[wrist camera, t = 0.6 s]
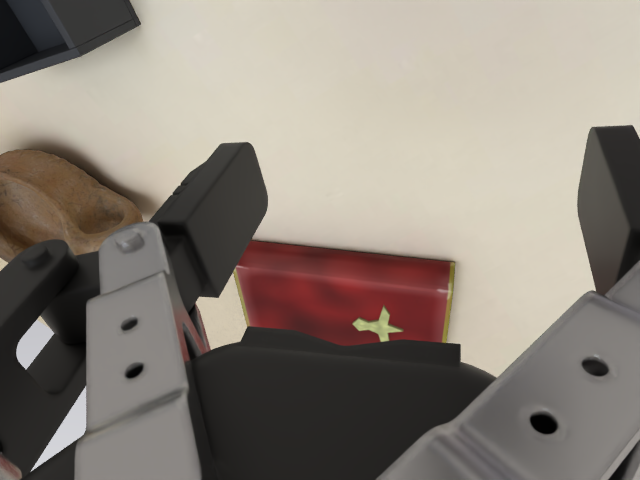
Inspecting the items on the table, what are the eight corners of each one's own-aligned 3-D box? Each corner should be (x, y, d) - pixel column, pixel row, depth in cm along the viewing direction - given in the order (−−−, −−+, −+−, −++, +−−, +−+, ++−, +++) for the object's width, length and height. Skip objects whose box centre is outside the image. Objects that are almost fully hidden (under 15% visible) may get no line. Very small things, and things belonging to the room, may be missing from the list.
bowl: (106, 113, 42) (50, 200, 37) (184, 213, 53) (150, 291, 47) (-36, 132, 48) (-102, 210, 43) (61, 218, 59) (18, 289, 53)
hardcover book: (245, 236, 49) (229, 263, 46) (455, 258, 44) (453, 290, 41) (263, 316, 57) (250, 343, 54) (444, 342, 52) (441, 374, 49)
